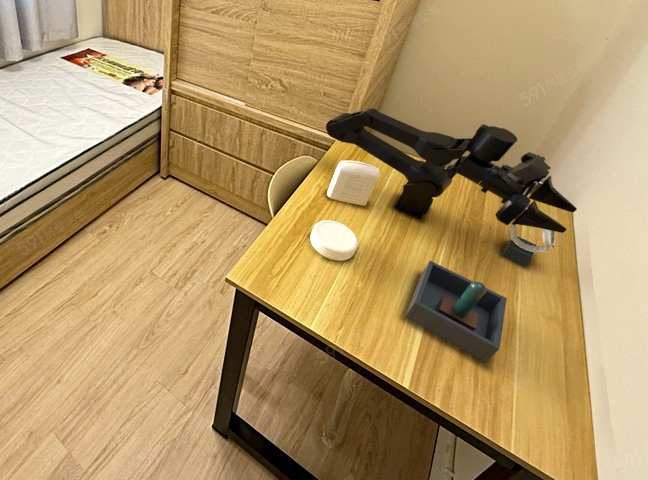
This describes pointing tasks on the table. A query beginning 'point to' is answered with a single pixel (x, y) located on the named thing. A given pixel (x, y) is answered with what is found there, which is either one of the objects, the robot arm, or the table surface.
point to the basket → (422, 311)
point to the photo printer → (353, 182)
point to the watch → (526, 246)
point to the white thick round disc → (333, 240)
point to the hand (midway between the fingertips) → (570, 220)
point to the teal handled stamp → (463, 306)
